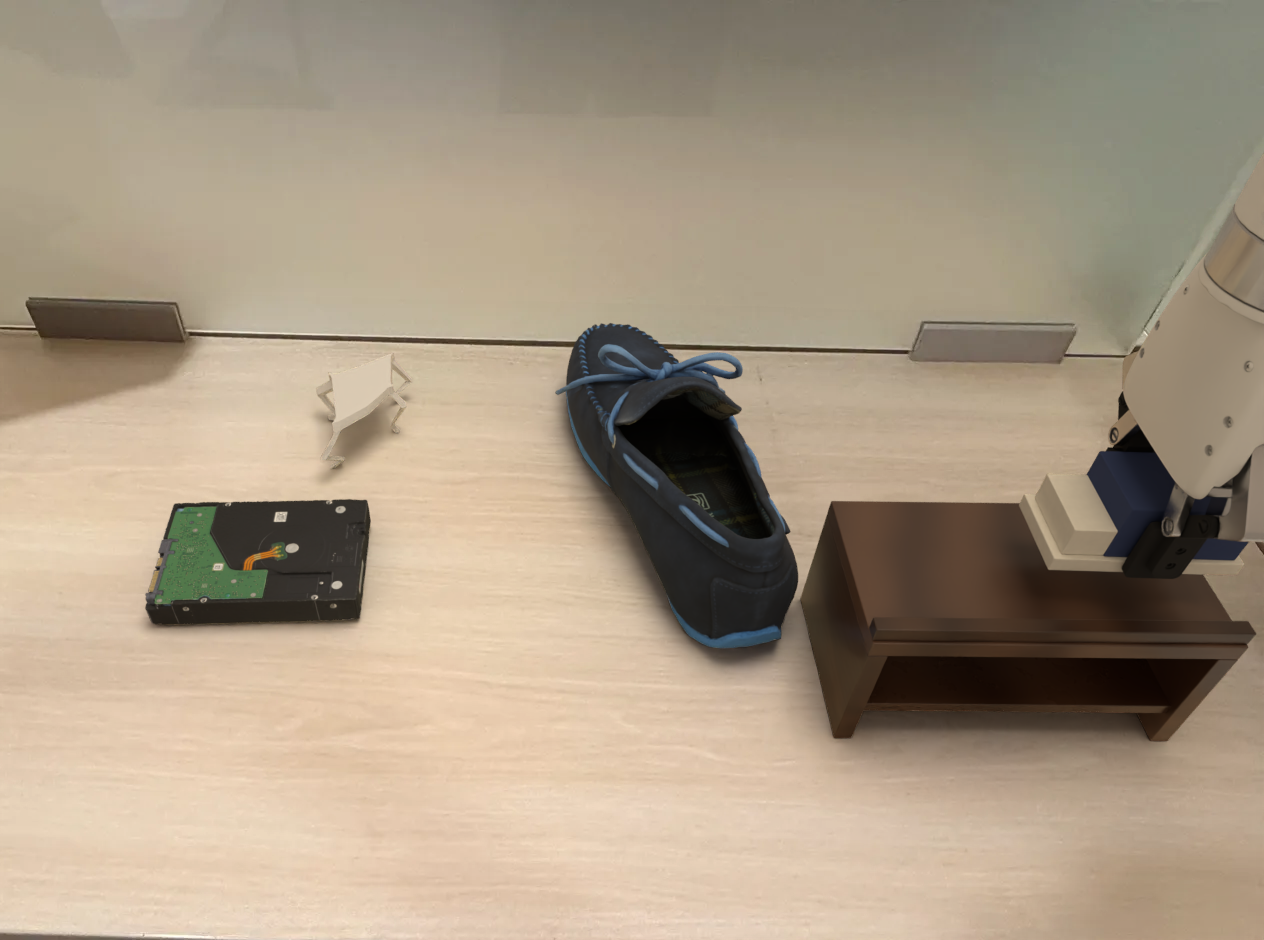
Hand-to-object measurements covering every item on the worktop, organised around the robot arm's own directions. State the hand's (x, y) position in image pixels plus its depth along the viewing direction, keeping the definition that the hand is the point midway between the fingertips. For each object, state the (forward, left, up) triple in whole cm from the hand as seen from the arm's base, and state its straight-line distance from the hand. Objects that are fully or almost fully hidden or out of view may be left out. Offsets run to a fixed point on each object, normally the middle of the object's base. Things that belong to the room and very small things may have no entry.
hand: (1128, 533), depth 58 cm
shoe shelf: (+4, -3, -13) cm, 14 cm away
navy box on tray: (0, 0, 0) cm, 0 cm away
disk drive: (+37, -42, -13) cm, 58 cm away
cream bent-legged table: (+23, -51, -13) cm, 58 cm away
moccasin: (+8, -29, -13) cm, 33 cm away
